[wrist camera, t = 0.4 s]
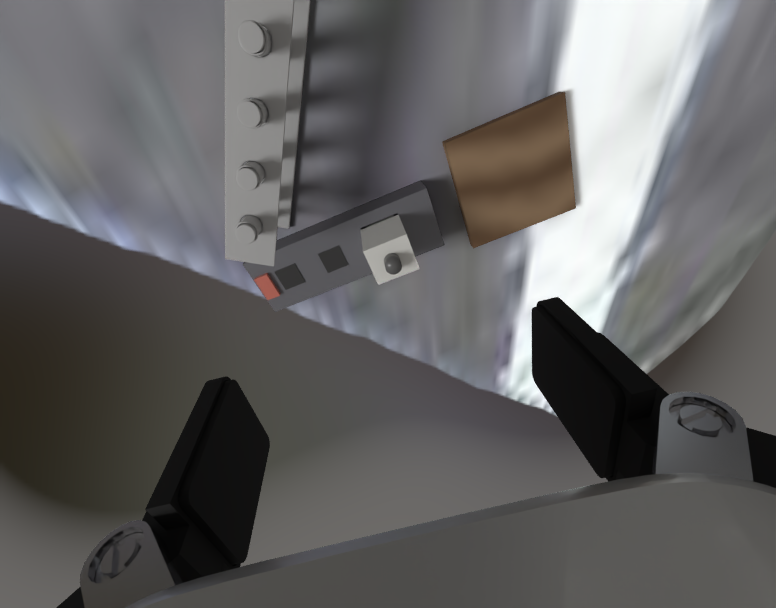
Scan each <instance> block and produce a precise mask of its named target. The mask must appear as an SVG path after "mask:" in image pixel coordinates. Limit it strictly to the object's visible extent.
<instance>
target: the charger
mask: <svg viewBox="0 0 776 608" xmlns="http://www.w3.org/2000/svg"><path fill="white" fill-rule="evenodd" d="M361 238H362V247H363V253H364V255H365V257H366V259H367V261H368V264H369V266H370V268H371V270H372V272H373V274H374V277H375V279H376V281H377V283H378V285H379V284H382V283H384V282H387V281H390V280H392V279H395V278H397V277H400V276H402V275H405V274H408V273H410V272H413V271H415V270H418V269H419V266H418V263H417V261H416V258H415V255H414V253H413V250H412V247H411V245H410V242H409V239H408V237H407V234H406V232H405V229H404V227H403V224H402V222H401V219H400V217H399V215H396V216H394V215H391V216H389V217H386V218H384V219H382V220H379V221H377V222H374V223H372V224H369V225H367V226H366V228H364V229H362V230H361Z"/></svg>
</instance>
